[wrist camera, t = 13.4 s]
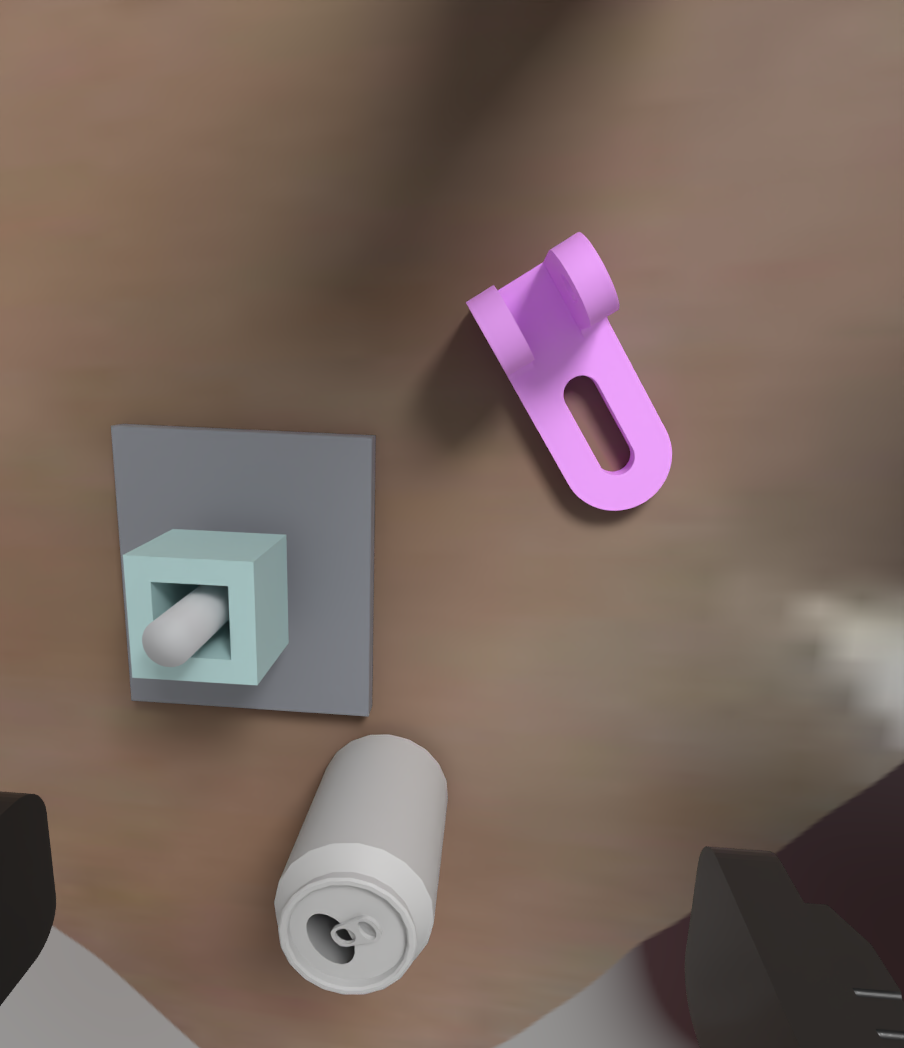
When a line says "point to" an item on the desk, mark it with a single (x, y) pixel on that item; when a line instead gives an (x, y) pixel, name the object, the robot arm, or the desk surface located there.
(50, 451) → the desk surface
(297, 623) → the post block
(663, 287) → the desk surface
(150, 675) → the collar
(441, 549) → the desk surface
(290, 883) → the can
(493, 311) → the bracket
